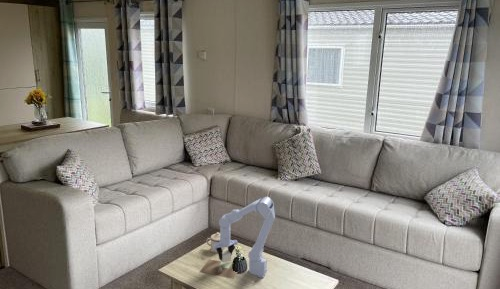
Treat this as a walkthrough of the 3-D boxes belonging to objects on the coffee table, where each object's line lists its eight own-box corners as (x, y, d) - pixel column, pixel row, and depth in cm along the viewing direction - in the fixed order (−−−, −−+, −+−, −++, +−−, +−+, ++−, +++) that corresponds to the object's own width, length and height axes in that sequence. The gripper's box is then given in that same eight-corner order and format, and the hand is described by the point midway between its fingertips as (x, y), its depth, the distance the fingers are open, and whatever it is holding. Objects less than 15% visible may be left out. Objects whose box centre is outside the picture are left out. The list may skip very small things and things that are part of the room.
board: (241, 266, 227) (241, 260, 226) (233, 280, 214) (233, 273, 213) (209, 260, 233) (209, 254, 232) (199, 273, 220) (199, 267, 219)
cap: (227, 256, 229) (227, 249, 228) (230, 260, 225) (231, 253, 224) (219, 258, 227) (219, 251, 226) (222, 262, 222) (222, 255, 221)
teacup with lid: (227, 248, 248) (227, 230, 245) (222, 255, 239) (222, 237, 236) (209, 245, 251) (209, 228, 248) (203, 252, 242) (203, 234, 239)
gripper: (233, 230, 229) (233, 252, 232) (210, 235, 222) (210, 257, 226) (239, 235, 223) (238, 257, 226) (215, 241, 216) (215, 263, 220)
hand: (225, 258), depth 226 cm, fingers closed on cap, 5 cm apart
